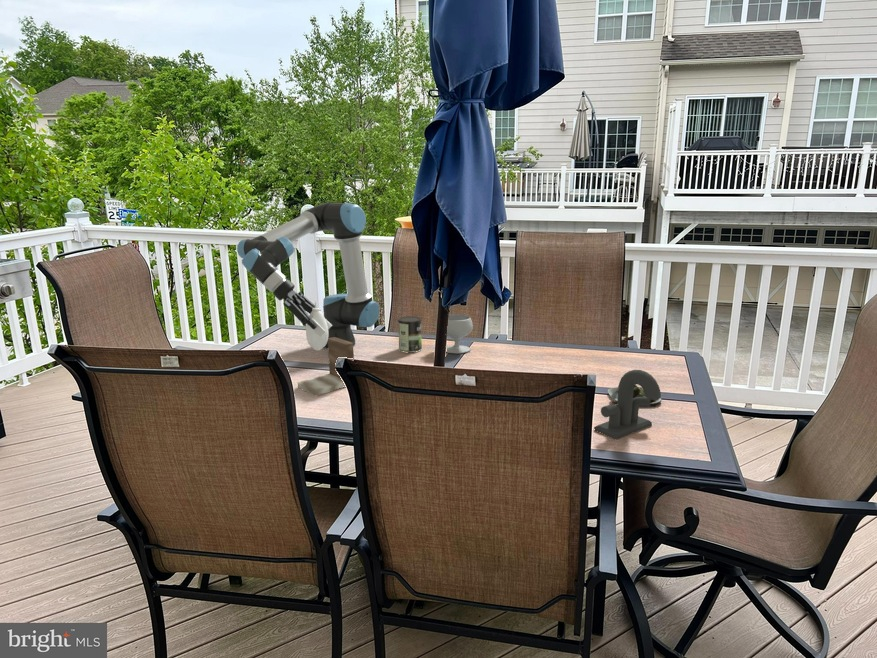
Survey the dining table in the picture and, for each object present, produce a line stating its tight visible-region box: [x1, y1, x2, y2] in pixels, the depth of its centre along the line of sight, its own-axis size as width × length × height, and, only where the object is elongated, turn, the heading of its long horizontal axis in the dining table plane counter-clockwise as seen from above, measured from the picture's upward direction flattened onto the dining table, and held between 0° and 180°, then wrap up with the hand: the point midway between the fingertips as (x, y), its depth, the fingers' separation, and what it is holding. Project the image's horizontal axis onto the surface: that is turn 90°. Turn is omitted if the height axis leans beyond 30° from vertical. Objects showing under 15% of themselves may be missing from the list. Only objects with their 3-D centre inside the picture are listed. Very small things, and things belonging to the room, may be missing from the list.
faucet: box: [593, 369, 662, 440], centre depth 185 cm, size 18×16×20 cm
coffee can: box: [397, 315, 423, 353], centre depth 271 cm, size 10×10×14 cm
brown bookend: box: [297, 337, 355, 396], centre depth 226 cm, size 17×12×16 cm
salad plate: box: [607, 384, 662, 408], centre depth 215 cm, size 19×18×5 cm
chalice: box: [446, 313, 474, 354], centre depth 269 cm, size 14×14×15 cm
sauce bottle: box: [305, 300, 328, 351], centre depth 221 cm, size 8×8×18 cm
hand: (326, 331), depth 221 cm, fingers closed on sauce bottle, 7 cm apart
